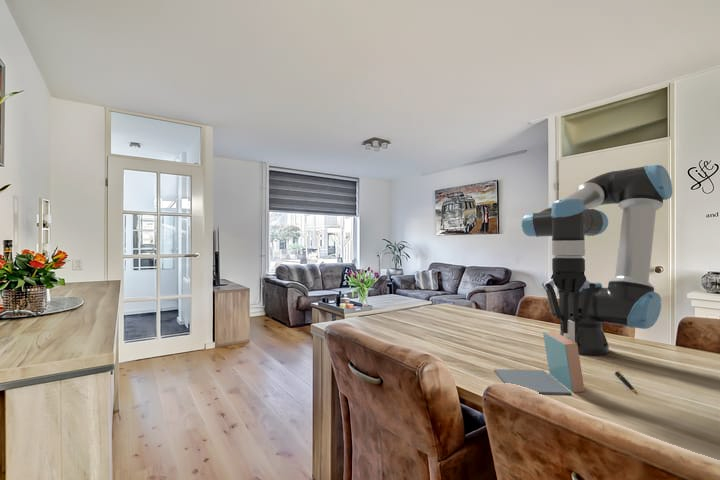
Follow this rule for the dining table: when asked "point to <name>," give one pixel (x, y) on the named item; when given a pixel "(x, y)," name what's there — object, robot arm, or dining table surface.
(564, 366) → the glazed tile
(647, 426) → the dining table surface
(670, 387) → the dining table surface
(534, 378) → the mat
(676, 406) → the dining table surface
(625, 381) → the fountain pen
